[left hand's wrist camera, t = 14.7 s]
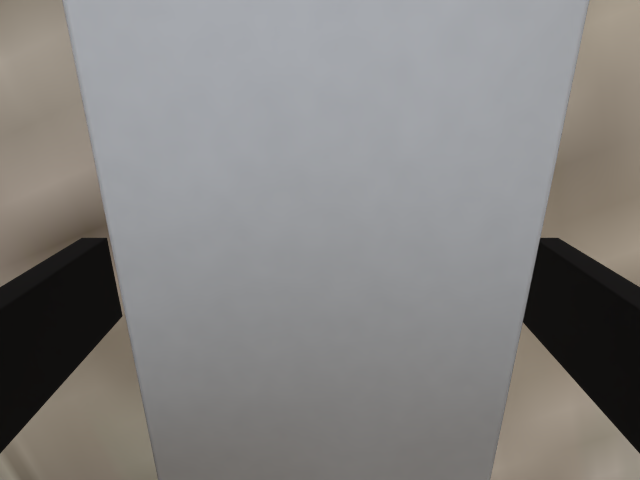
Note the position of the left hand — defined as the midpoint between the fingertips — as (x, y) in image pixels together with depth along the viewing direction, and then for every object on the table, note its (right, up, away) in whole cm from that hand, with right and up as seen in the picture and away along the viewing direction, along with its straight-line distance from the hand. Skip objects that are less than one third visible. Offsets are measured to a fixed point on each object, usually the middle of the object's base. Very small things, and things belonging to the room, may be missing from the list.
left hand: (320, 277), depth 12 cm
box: (0, +10, +3) cm, 10 cm away
